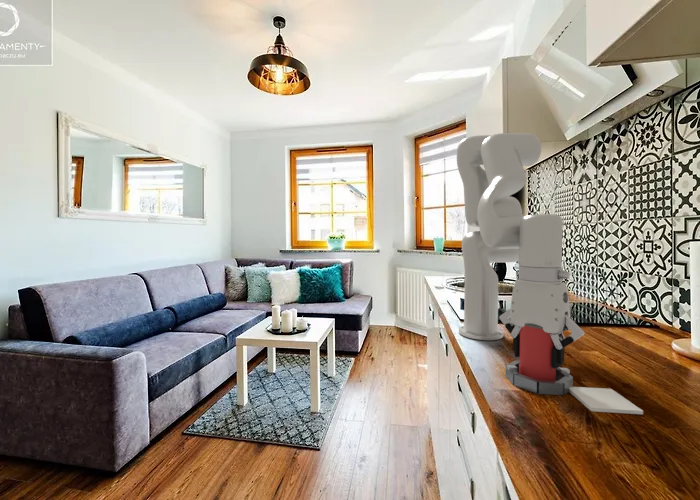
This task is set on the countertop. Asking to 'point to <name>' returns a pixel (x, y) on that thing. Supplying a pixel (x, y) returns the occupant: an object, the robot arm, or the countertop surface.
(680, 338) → the countertop surface
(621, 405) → the plate
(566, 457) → the countertop surface
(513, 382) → the collar
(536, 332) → the beer can
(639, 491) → the countertop surface
